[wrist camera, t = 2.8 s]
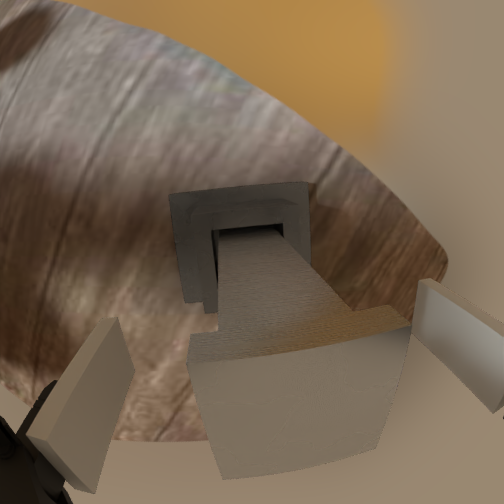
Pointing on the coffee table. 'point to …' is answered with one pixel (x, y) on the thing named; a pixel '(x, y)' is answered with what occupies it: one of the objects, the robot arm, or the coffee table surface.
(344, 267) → the coffee table surface
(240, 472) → the column
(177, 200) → the stand base
